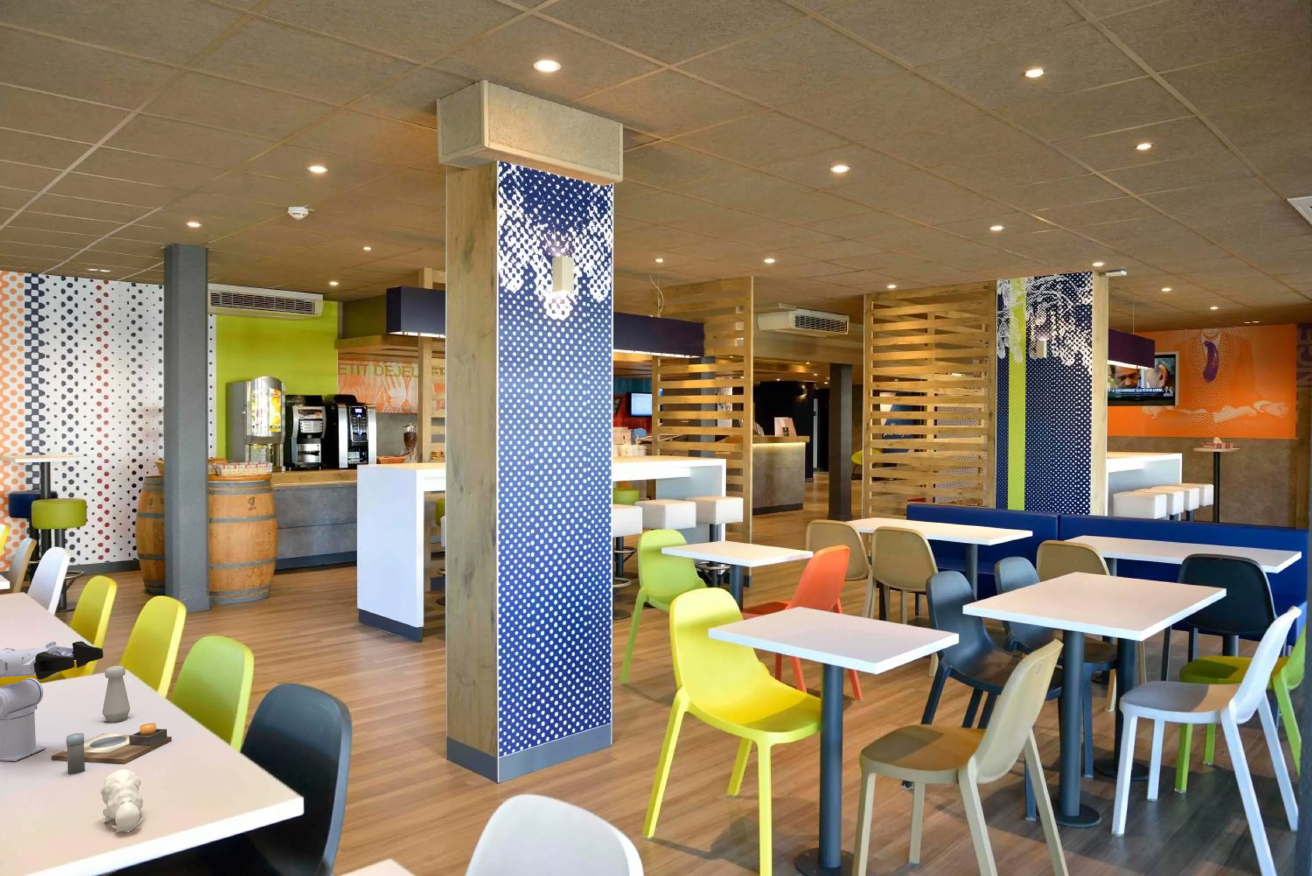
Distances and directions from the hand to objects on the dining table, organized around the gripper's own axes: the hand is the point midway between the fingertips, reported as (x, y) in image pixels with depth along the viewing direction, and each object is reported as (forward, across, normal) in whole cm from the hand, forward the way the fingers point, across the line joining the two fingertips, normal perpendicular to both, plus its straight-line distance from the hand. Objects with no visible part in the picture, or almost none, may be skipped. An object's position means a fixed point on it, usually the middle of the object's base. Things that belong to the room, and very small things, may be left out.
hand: (87, 658), depth 195 cm
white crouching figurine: (+31, -28, +25) cm, 49 cm away
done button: (+5, +9, +20) cm, 22 cm away
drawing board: (-1, +5, +22) cm, 22 cm away
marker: (+1, -7, +22) cm, 23 cm away
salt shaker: (-17, +24, +21) cm, 36 cm away
